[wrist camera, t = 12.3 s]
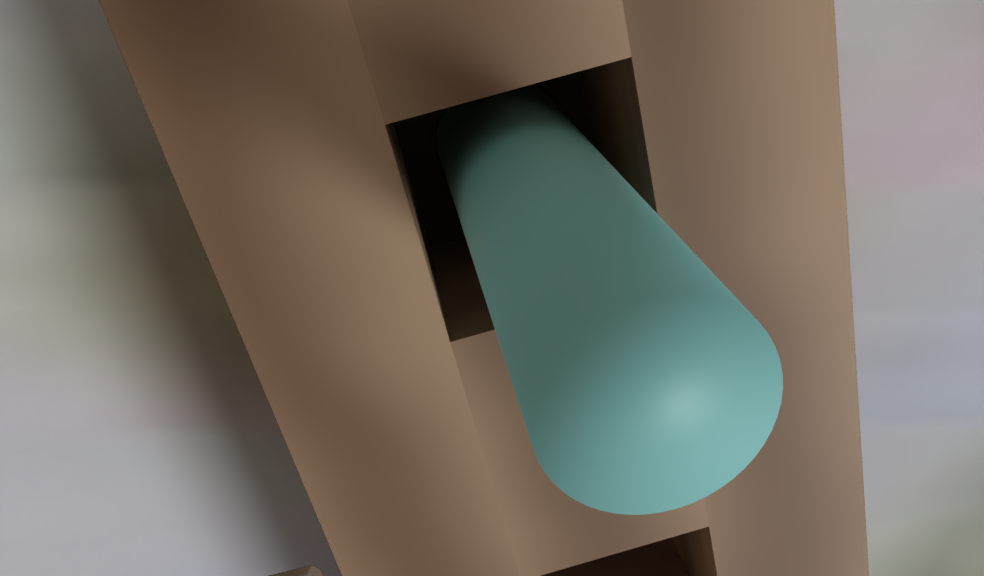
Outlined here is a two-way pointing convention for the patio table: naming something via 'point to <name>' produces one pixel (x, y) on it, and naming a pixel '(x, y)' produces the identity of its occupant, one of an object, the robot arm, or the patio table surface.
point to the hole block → (453, 278)
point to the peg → (604, 315)
